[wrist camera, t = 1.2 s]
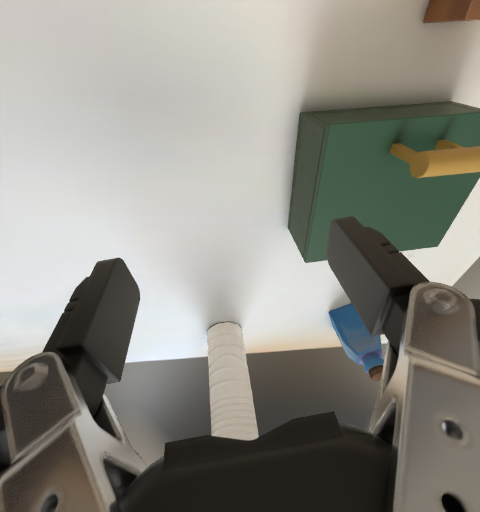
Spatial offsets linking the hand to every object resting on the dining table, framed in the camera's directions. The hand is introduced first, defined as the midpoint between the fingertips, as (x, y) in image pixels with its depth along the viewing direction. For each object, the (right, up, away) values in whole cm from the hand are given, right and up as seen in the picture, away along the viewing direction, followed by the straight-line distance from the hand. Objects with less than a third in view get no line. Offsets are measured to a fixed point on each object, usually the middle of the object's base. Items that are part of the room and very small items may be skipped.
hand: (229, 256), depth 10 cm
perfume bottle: (+21, -11, +39) cm, 46 cm away
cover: (+15, +6, +15) cm, 22 cm away
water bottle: (-1, -14, +38) cm, 40 cm away
